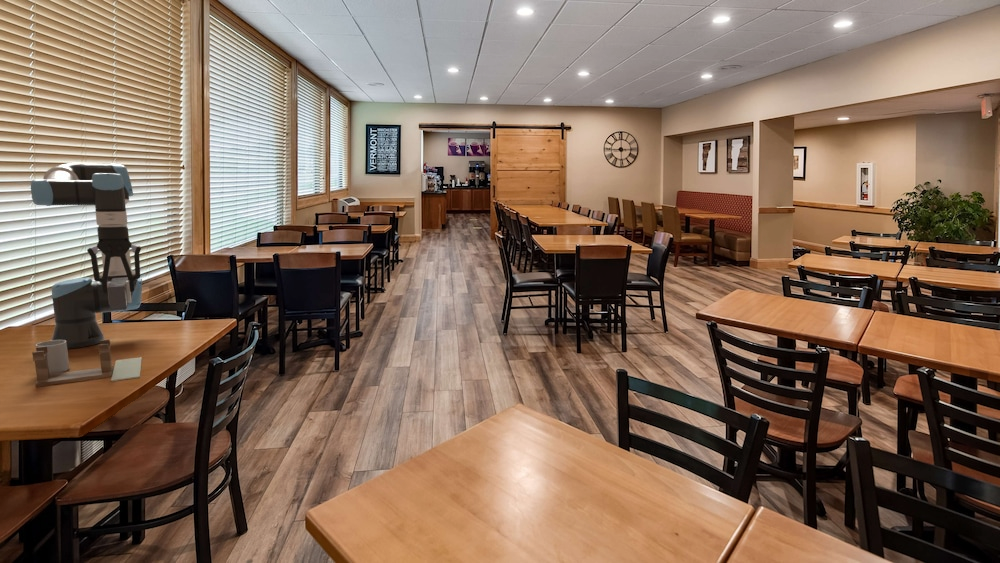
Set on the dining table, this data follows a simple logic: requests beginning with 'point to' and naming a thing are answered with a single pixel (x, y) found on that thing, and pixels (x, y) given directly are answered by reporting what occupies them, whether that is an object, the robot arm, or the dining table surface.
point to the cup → (56, 355)
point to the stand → (72, 376)
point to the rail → (118, 292)
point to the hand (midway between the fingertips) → (120, 302)
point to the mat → (127, 369)
